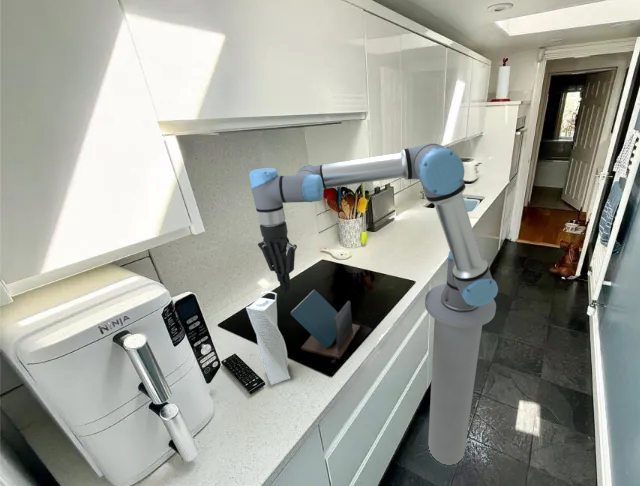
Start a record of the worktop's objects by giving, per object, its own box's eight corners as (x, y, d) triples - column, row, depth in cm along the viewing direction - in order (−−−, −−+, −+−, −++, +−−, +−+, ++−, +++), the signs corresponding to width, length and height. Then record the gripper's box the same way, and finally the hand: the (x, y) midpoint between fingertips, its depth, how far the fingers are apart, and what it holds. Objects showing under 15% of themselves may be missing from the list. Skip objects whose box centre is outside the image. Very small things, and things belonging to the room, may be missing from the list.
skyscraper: (291, 362, 95) (274, 284, 83) (296, 379, 89) (278, 298, 77) (264, 371, 92) (242, 293, 80) (268, 389, 86) (244, 307, 74)
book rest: (360, 327, 109) (357, 296, 103) (339, 359, 95) (335, 326, 90) (325, 320, 113) (321, 290, 108) (301, 349, 100) (294, 317, 94)
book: (347, 321, 107) (314, 289, 106) (330, 345, 97) (294, 309, 95) (342, 325, 109) (310, 293, 107) (325, 348, 99) (289, 313, 97)
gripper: (298, 220, 92) (309, 287, 103) (263, 216, 96) (276, 281, 107) (283, 229, 86) (296, 299, 96) (246, 224, 90) (262, 292, 101)
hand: (285, 289), depth 102 cm, fingers closed
